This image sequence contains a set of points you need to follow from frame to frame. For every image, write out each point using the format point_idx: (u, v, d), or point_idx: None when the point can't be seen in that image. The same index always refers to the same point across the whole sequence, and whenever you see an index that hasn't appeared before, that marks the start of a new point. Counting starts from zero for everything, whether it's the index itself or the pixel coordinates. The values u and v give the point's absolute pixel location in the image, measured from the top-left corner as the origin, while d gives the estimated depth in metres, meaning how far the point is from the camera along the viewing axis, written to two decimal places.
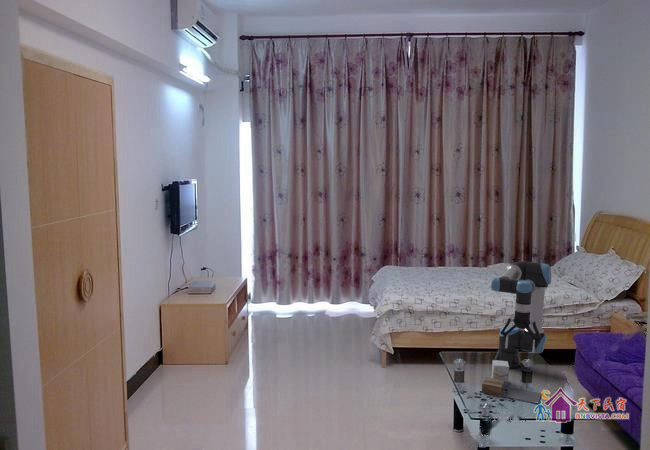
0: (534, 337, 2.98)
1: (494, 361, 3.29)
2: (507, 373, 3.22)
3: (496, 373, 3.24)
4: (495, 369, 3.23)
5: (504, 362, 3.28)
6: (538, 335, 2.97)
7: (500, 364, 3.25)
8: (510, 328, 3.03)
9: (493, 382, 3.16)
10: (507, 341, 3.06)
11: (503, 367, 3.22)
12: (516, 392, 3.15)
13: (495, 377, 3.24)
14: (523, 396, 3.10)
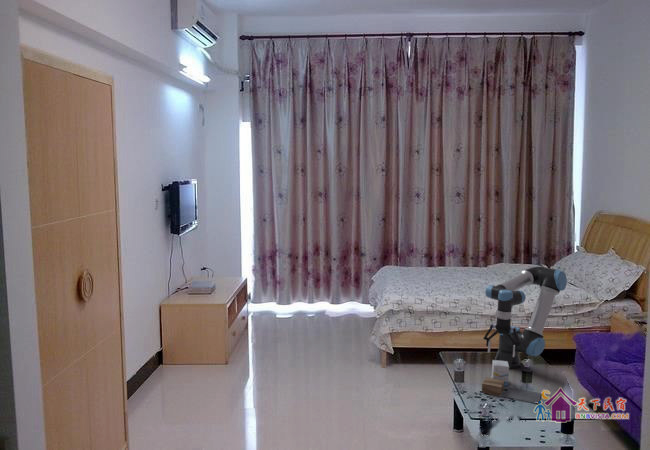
0: (514, 342, 3.20)
1: (494, 361, 3.29)
2: (507, 373, 3.22)
3: (496, 373, 3.24)
4: (495, 369, 3.23)
5: (504, 362, 3.28)
6: (518, 340, 3.19)
7: (500, 364, 3.25)
8: (492, 334, 3.26)
9: (493, 382, 3.16)
10: (489, 346, 3.28)
11: (503, 367, 3.22)
12: (516, 392, 3.15)
13: (495, 377, 3.24)
14: (523, 396, 3.10)
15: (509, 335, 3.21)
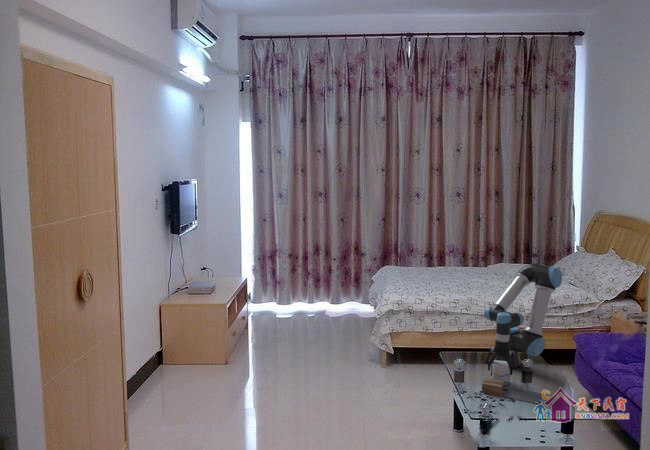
0: (510, 366, 3.23)
1: (494, 361, 3.29)
2: (507, 373, 3.22)
3: (496, 373, 3.24)
4: (495, 369, 3.23)
5: (504, 362, 3.28)
6: (514, 364, 3.22)
7: (500, 364, 3.25)
8: None
9: (493, 382, 3.16)
10: (491, 370, 3.29)
11: (503, 367, 3.22)
12: (516, 392, 3.15)
13: (495, 377, 3.24)
14: (523, 396, 3.10)
15: (506, 358, 3.23)
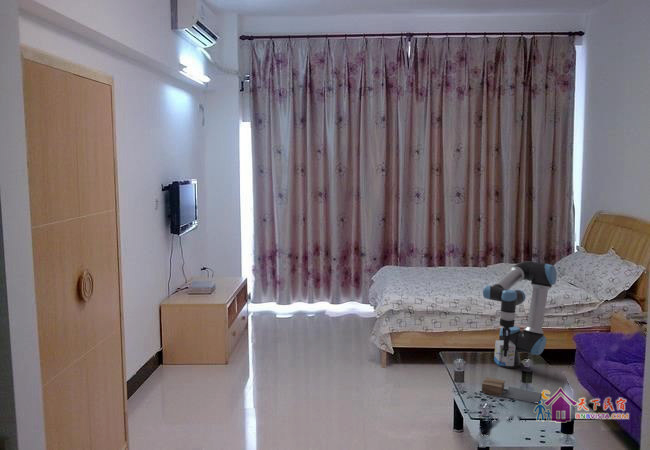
0: (503, 346, 3.09)
1: None
2: (499, 351, 3.11)
3: (495, 349, 3.17)
4: (495, 344, 3.17)
5: (509, 344, 3.12)
6: (503, 345, 3.07)
7: (501, 342, 3.14)
8: None
9: (493, 382, 3.16)
10: None
11: (498, 344, 3.13)
12: (516, 392, 3.15)
13: (495, 353, 3.17)
14: (523, 396, 3.10)
15: (503, 337, 3.11)
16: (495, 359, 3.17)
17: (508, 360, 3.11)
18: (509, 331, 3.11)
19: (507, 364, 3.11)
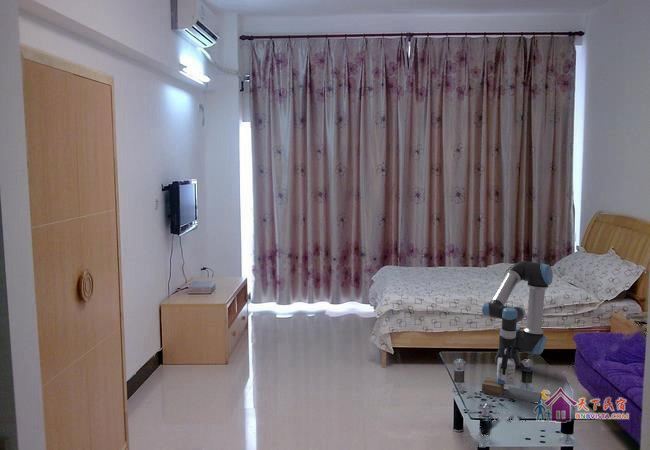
0: None
1: (509, 359, 3.14)
2: (498, 369, 3.10)
3: (497, 366, 3.16)
4: None
5: (510, 362, 3.09)
6: None
7: None
8: None
9: (493, 382, 3.16)
10: None
11: (498, 362, 3.12)
12: (516, 392, 3.15)
13: (497, 370, 3.16)
14: (523, 396, 3.10)
15: None
16: None
17: (508, 378, 3.09)
18: (509, 349, 3.08)
19: (507, 382, 3.09)
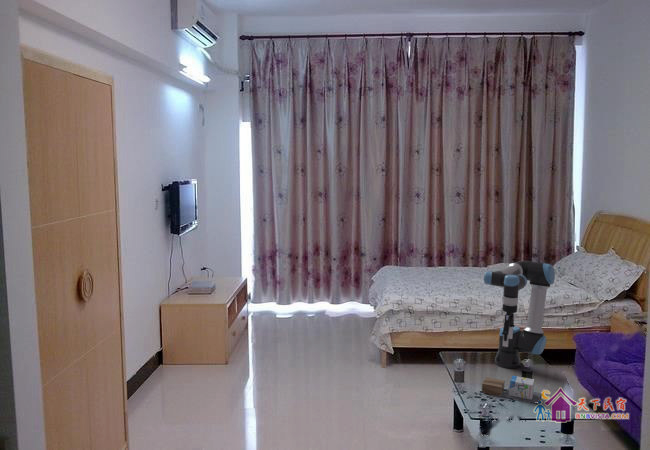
0: None
1: (533, 390, 3.12)
2: (525, 383, 3.07)
3: (525, 378, 3.12)
4: (529, 379, 3.12)
5: (532, 394, 3.07)
6: (503, 329, 3.02)
7: (533, 385, 3.09)
8: None
9: (493, 382, 3.16)
10: (509, 332, 3.16)
11: (532, 382, 3.07)
12: None
13: (520, 377, 3.13)
14: None
15: None
16: (514, 377, 3.14)
17: (515, 391, 3.09)
18: (511, 316, 3.06)
19: (511, 389, 3.09)
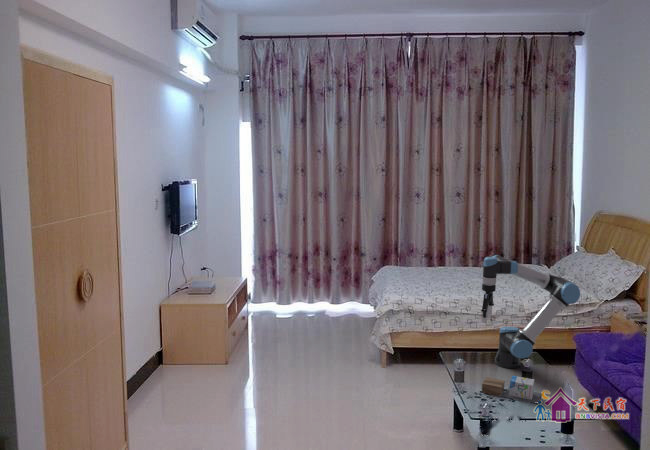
0: None
1: (533, 390, 3.12)
2: (525, 383, 3.07)
3: (525, 378, 3.12)
4: (529, 379, 3.12)
5: (532, 394, 3.07)
6: (482, 306, 3.27)
7: (533, 385, 3.09)
8: None
9: (493, 382, 3.16)
10: (489, 310, 3.41)
11: (532, 382, 3.07)
12: None
13: (520, 377, 3.13)
14: None
15: None
16: (514, 377, 3.13)
17: (515, 391, 3.09)
18: (490, 295, 3.31)
19: (511, 389, 3.09)
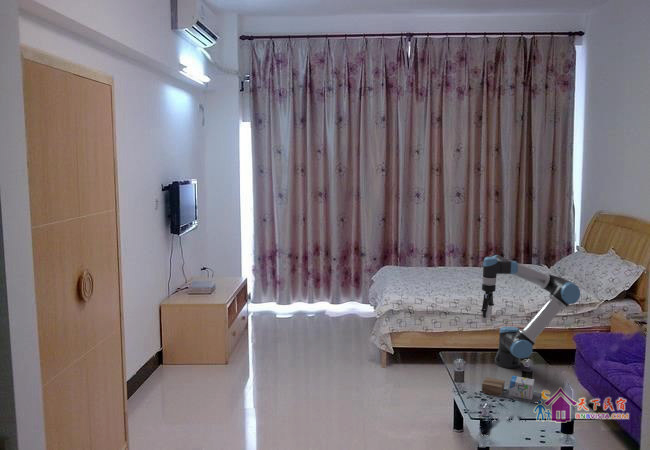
0: None
1: (533, 390, 3.12)
2: (525, 383, 3.07)
3: (525, 378, 3.12)
4: (529, 379, 3.12)
5: (532, 394, 3.07)
6: (482, 306, 3.27)
7: (533, 385, 3.09)
8: None
9: (493, 382, 3.16)
10: (489, 310, 3.41)
11: (532, 382, 3.07)
12: None
13: (520, 377, 3.13)
14: None
15: None
16: (514, 377, 3.13)
17: (515, 391, 3.09)
18: (490, 295, 3.31)
19: (511, 389, 3.09)
